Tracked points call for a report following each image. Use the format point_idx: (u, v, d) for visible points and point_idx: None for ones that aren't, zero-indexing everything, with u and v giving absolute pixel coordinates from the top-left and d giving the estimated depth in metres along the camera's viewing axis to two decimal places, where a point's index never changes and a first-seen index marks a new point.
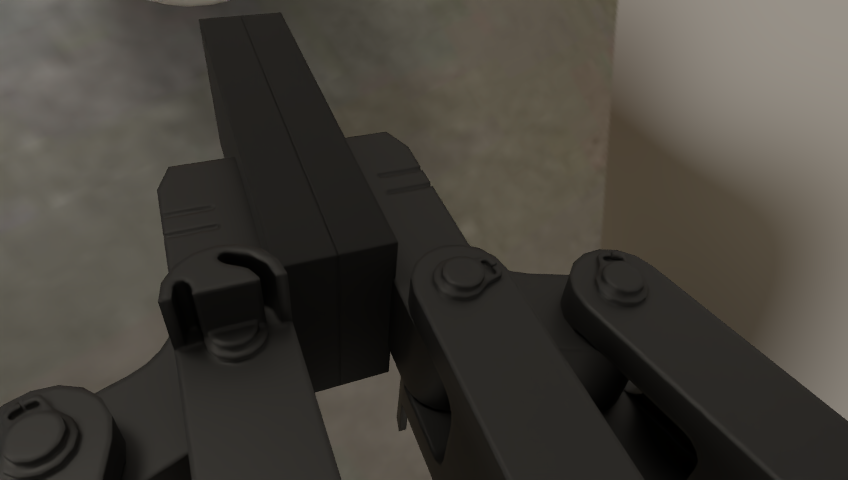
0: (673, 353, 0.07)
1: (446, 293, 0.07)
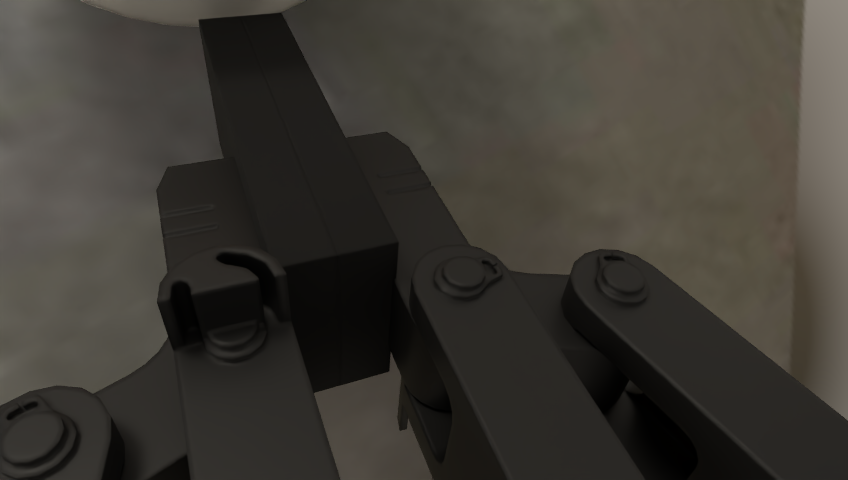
0: (673, 353, 0.07)
1: (446, 293, 0.07)
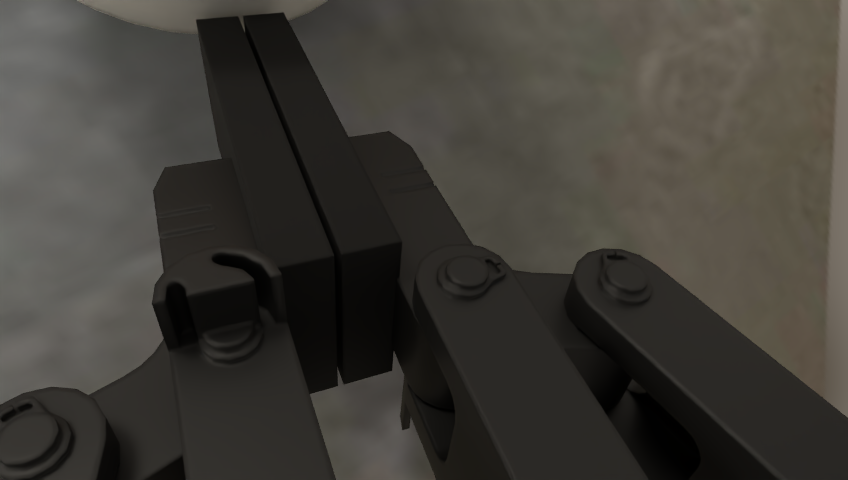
0: (676, 352, 0.07)
1: (450, 292, 0.07)
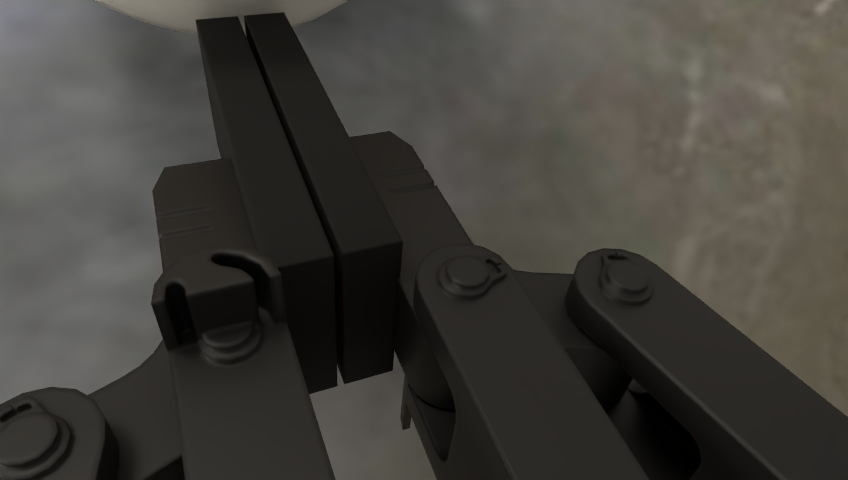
0: (677, 352, 0.07)
1: (451, 291, 0.07)
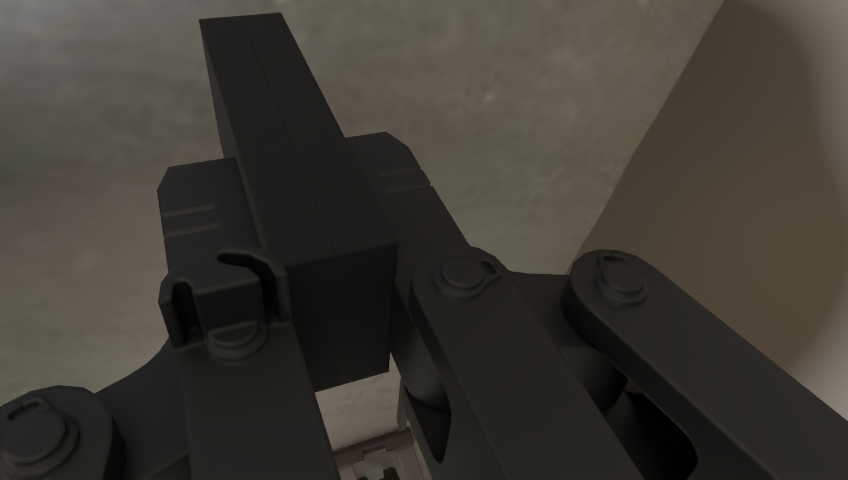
0: (673, 353, 0.07)
1: (446, 293, 0.07)
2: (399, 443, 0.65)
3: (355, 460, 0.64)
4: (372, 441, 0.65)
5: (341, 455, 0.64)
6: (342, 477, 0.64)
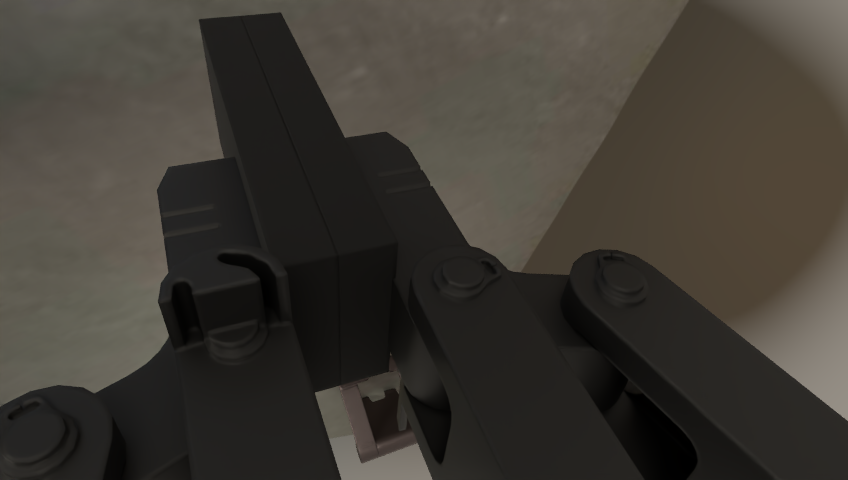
0: (673, 353, 0.07)
1: (446, 293, 0.07)
2: None
3: (360, 380, 0.66)
4: None
5: None
6: (347, 396, 0.67)
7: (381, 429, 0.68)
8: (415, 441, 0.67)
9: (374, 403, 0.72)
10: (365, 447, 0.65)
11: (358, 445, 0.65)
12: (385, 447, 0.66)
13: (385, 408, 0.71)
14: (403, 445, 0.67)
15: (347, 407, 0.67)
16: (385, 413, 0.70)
